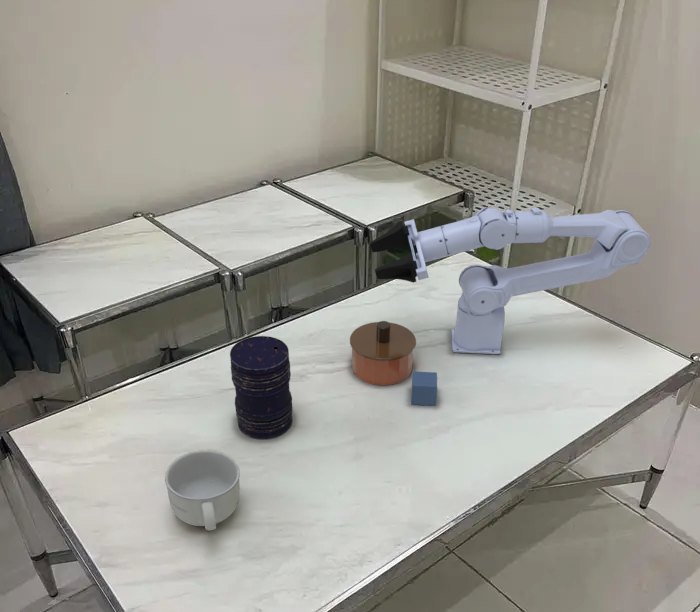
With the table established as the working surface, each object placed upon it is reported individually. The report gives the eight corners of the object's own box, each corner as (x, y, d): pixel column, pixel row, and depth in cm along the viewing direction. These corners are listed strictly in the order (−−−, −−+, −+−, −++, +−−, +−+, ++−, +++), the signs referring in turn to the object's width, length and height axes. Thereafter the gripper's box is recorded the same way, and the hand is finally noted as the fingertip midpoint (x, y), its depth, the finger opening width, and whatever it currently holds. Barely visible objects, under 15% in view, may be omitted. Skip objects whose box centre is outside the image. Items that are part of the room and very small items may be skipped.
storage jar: (247, 446, 123) (239, 376, 113) (229, 412, 130) (221, 344, 121) (301, 430, 126) (298, 360, 117) (281, 398, 133) (277, 330, 124)
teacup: (176, 486, 115) (169, 449, 110) (245, 482, 116) (240, 445, 111) (166, 555, 104) (157, 518, 99) (241, 551, 105) (237, 513, 100)
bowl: (411, 351, 145) (413, 326, 142) (411, 386, 136) (413, 360, 132) (354, 349, 146) (354, 324, 142) (350, 383, 137) (350, 357, 133)
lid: (415, 327, 142) (417, 308, 140) (415, 365, 132) (417, 344, 130) (352, 325, 143) (352, 305, 140) (347, 362, 133) (347, 341, 130)
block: (434, 391, 135) (436, 372, 132) (435, 405, 132) (437, 386, 129) (411, 390, 135) (412, 371, 133) (411, 404, 132) (412, 385, 129)
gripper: (433, 200, 135) (363, 220, 137) (448, 251, 126) (373, 271, 128) (439, 228, 141) (372, 247, 142) (454, 279, 132) (382, 298, 133)
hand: (373, 260), depth 136 cm, fingers open, 7 cm apart
